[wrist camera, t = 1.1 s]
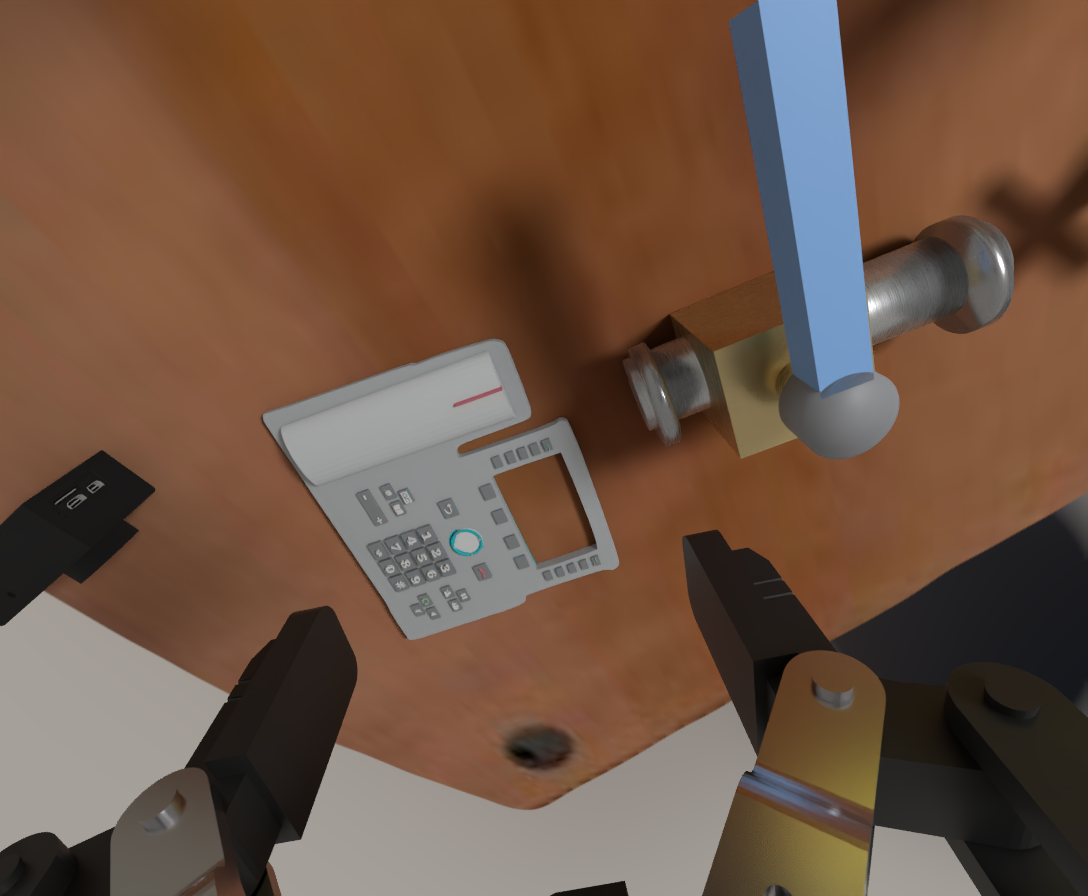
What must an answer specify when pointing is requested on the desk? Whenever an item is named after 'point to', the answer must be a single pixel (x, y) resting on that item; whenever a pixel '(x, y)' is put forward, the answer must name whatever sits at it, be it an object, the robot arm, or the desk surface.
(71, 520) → the digital camera
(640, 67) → the desk surface
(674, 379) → the valve
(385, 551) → the office telephone
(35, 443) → the desk surface
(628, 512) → the desk surface
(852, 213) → the lever
